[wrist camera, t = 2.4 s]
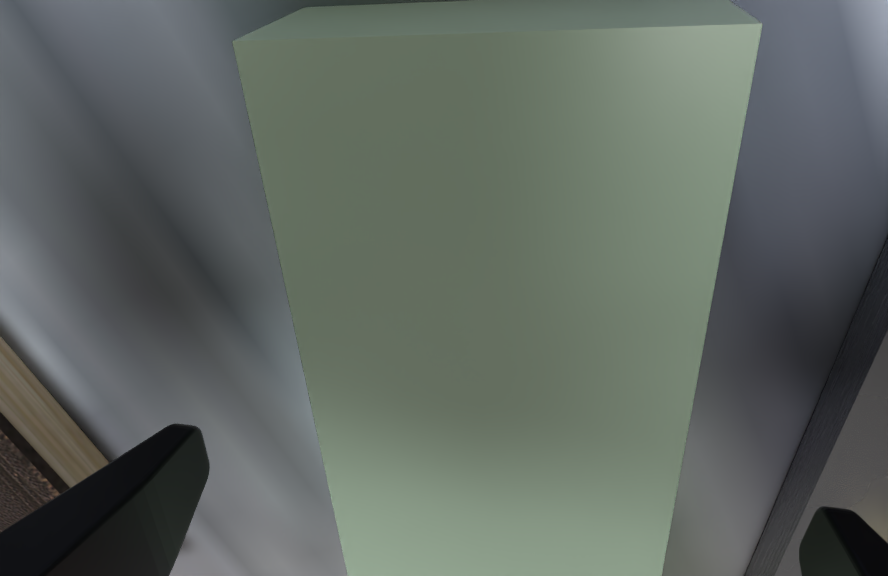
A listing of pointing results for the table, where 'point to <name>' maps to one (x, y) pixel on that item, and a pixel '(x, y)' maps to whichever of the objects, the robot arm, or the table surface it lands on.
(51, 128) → the table surface
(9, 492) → the hardcover book
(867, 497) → the standoff chassis
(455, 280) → the green block
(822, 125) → the table surface
